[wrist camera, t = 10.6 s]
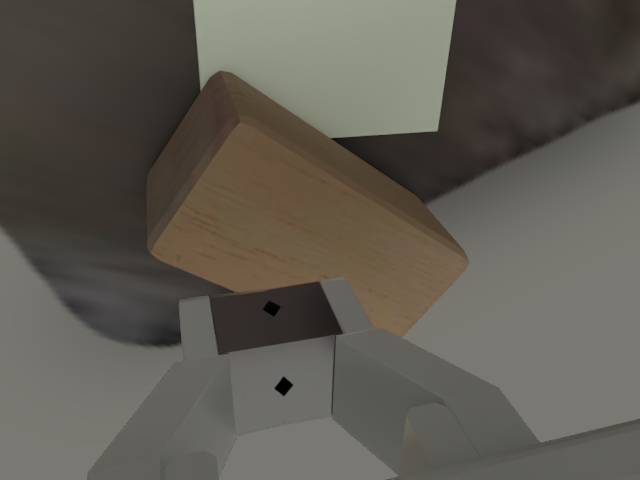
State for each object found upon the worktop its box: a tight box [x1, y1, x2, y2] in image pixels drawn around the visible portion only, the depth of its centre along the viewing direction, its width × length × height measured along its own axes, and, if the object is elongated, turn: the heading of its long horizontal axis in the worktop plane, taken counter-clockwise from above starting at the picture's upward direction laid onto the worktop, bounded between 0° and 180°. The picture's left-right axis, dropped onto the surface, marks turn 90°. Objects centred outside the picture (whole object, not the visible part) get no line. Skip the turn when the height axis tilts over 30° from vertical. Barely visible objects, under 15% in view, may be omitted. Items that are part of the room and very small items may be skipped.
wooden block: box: [146, 71, 468, 338], centre depth 37 cm, size 10×10×20 cm
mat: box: [193, 0, 456, 138], centre depth 37 cm, size 18×12×1 cm, turn 88°
